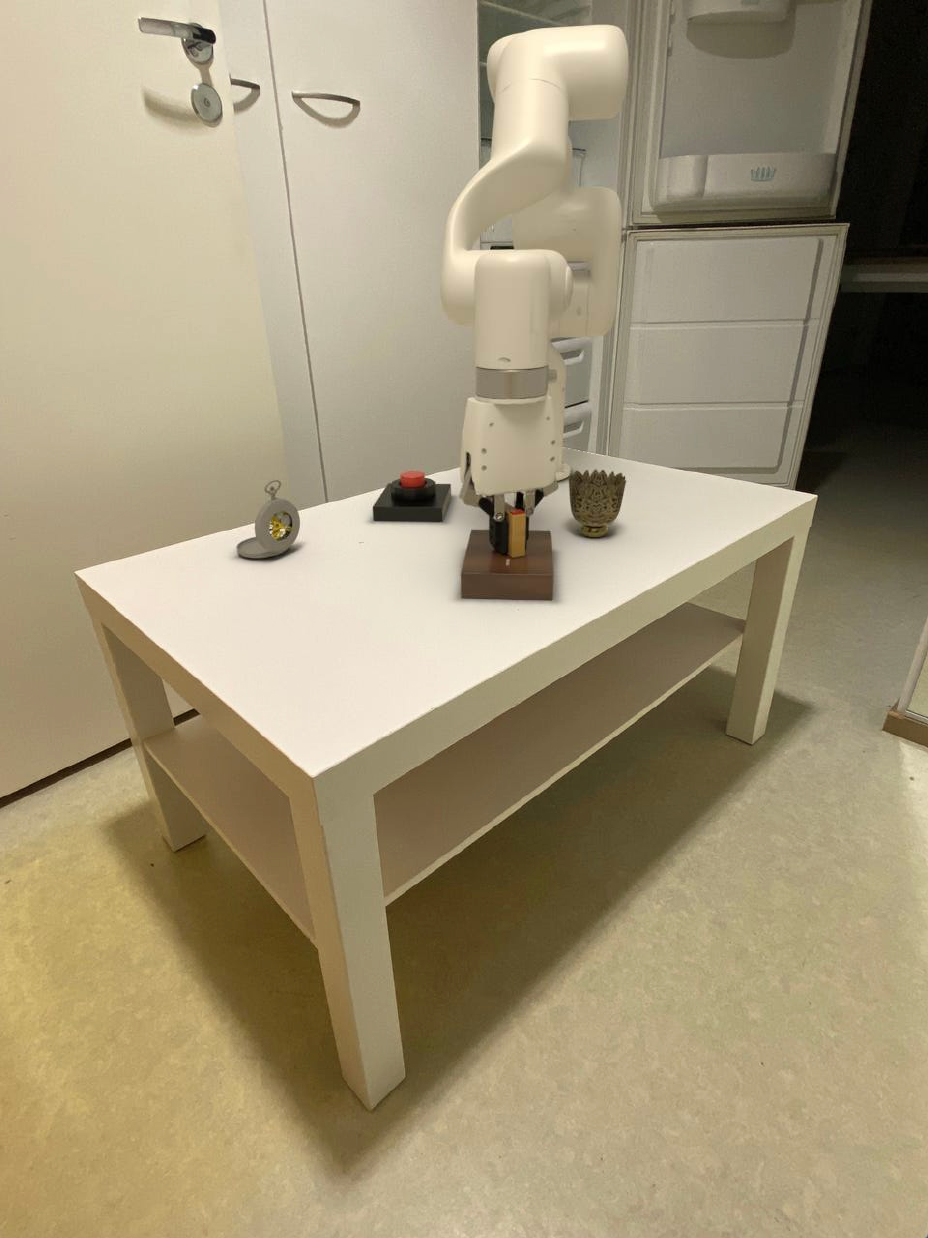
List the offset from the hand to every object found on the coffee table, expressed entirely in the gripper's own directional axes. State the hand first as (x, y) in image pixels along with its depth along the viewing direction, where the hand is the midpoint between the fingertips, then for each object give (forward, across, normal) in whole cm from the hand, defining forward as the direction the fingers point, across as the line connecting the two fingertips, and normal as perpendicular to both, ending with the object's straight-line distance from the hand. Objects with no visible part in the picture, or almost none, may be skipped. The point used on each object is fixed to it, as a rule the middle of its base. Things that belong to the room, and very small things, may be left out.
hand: (508, 547), depth 82 cm
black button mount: (+3, +2, -28) cm, 28 cm away
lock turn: (0, 0, 0) cm, 0 cm away
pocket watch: (+4, +25, -19) cm, 32 cm away
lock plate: (+3, 0, 0) cm, 3 cm away
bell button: (0, +2, -28) cm, 28 cm away
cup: (+4, -16, -7) cm, 18 cm away
